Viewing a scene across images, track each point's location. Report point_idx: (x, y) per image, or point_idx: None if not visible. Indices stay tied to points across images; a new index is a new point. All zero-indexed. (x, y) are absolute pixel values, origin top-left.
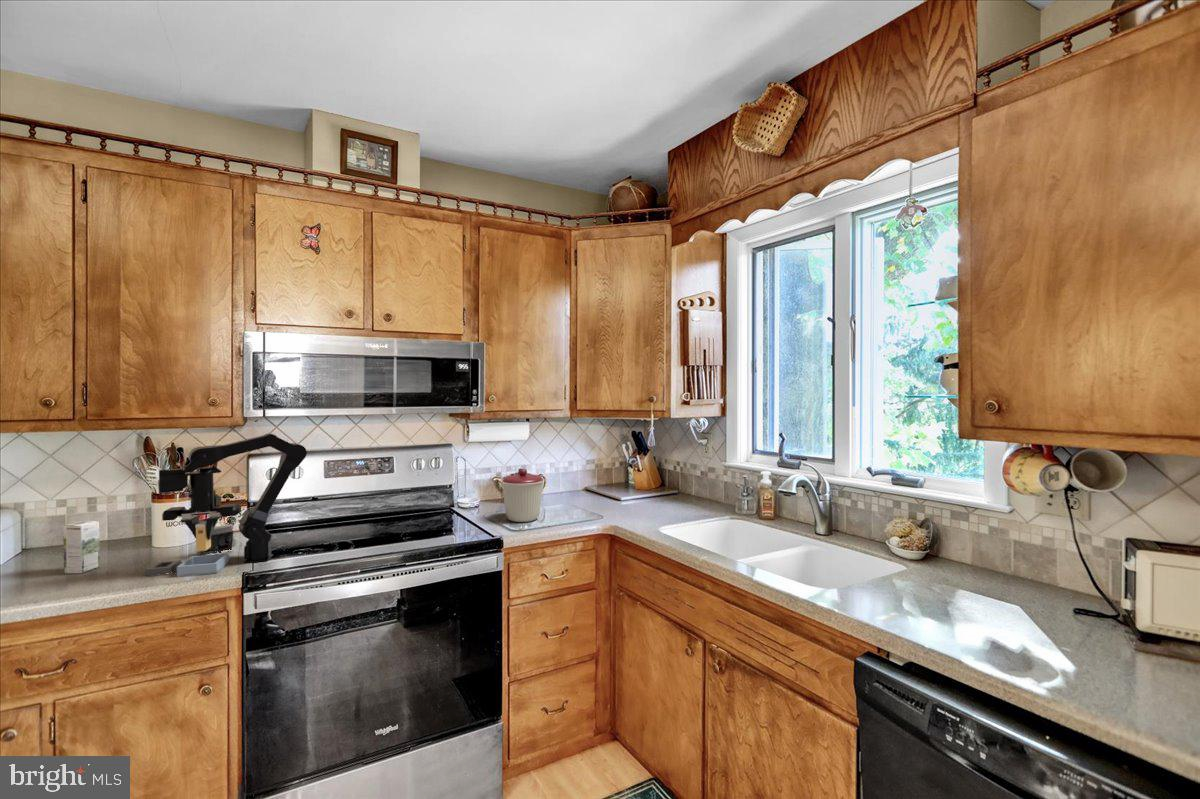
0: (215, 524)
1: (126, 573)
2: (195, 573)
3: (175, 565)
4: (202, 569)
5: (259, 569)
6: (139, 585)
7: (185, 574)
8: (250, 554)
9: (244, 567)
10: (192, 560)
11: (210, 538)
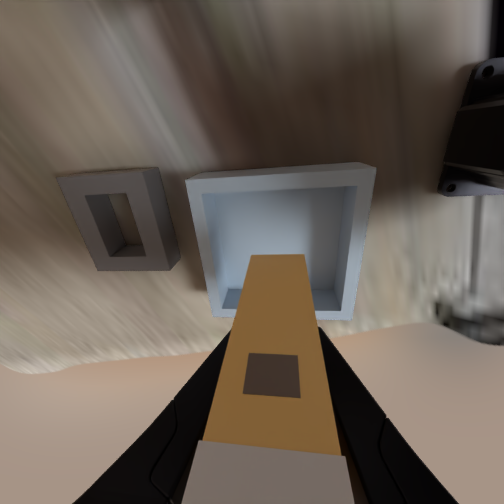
0: (428, 475)
1: (18, 209)
2: None
3: (162, 227)
4: None
5: (498, 289)
6: (159, 327)
7: None
8: (501, 184)
9: (437, 250)
10: (207, 203)
11: (310, 297)
